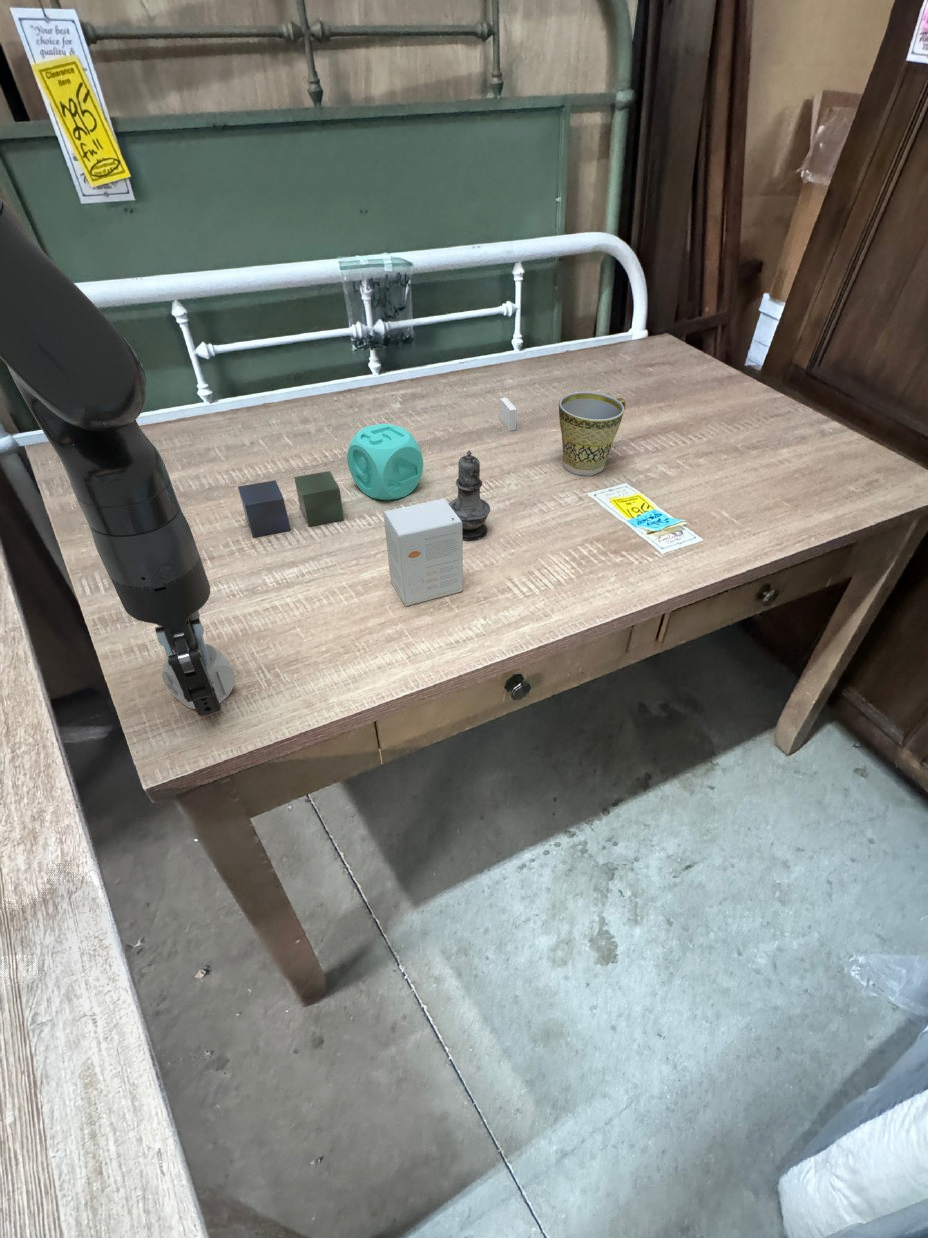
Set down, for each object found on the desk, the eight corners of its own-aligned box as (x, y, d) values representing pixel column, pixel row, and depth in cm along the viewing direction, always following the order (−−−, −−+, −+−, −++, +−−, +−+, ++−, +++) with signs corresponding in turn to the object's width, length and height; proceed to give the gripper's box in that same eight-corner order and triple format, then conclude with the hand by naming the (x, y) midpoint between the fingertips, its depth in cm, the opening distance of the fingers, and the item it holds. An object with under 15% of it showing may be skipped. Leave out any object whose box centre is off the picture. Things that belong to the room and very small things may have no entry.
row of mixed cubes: (132, 561, 87) (118, 527, 84) (129, 540, 91) (115, 507, 87) (344, 519, 97) (339, 488, 93) (334, 502, 100) (329, 470, 96)
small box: (447, 567, 90) (445, 496, 83) (464, 592, 87) (464, 520, 79) (389, 581, 88) (382, 509, 80) (404, 607, 84) (398, 535, 77)
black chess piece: (458, 545, 94) (457, 465, 85) (441, 523, 97) (439, 444, 89) (496, 536, 96) (499, 456, 87) (478, 515, 99) (480, 436, 91)
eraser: (505, 417, 122) (506, 397, 119) (515, 430, 119) (517, 409, 116) (499, 418, 121) (499, 397, 119) (509, 431, 118) (510, 410, 116)
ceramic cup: (583, 488, 106) (592, 426, 99) (540, 462, 111) (545, 401, 104) (638, 464, 113) (650, 404, 105) (595, 440, 118) (604, 381, 110)
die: (203, 717, 71) (189, 683, 67) (170, 696, 72) (154, 663, 69) (240, 688, 74) (229, 654, 70) (208, 669, 75) (195, 635, 72)
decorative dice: (425, 487, 104) (423, 437, 98) (384, 506, 100) (379, 455, 94) (391, 467, 107) (386, 418, 101) (349, 485, 103) (343, 434, 97)
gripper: (100, 523, 63) (158, 653, 75) (111, 617, 55) (175, 747, 67) (186, 508, 66) (229, 636, 78) (209, 595, 57) (254, 724, 69)
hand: (204, 687), depth 72 cm, fingers closed on die, 7 cm apart
